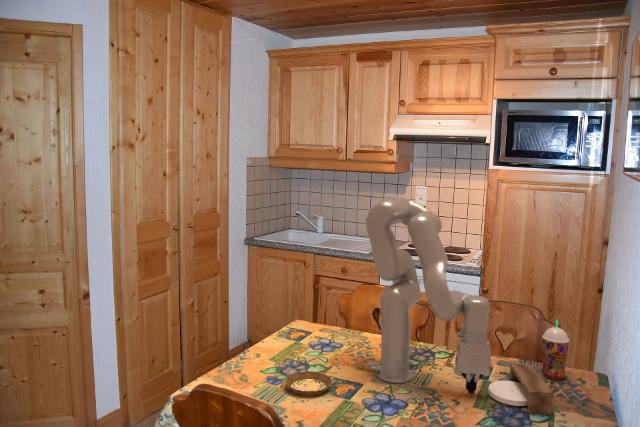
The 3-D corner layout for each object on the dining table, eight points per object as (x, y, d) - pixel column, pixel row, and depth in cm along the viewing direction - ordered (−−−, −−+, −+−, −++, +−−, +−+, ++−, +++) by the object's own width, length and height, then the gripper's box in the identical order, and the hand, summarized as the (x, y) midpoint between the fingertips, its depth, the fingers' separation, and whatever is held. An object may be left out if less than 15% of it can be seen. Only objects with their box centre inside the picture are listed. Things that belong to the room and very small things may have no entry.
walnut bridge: (528, 413, 153) (530, 391, 152) (509, 383, 173) (510, 363, 172) (551, 414, 153) (553, 392, 152) (529, 384, 172) (530, 364, 172)
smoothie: (555, 383, 173) (559, 325, 171) (534, 374, 180) (538, 317, 178) (571, 379, 177) (576, 321, 174) (551, 369, 184) (554, 314, 182)
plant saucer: (309, 374, 178) (309, 367, 178) (341, 389, 168) (341, 381, 167) (276, 388, 168) (276, 380, 168) (307, 404, 157) (307, 396, 157)
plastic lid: (485, 386, 172) (486, 378, 171) (530, 390, 169) (531, 382, 169) (491, 406, 158) (491, 398, 158) (540, 411, 155) (540, 403, 155)
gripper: (452, 339, 159) (448, 396, 161) (502, 341, 158) (498, 399, 160) (447, 330, 166) (444, 385, 168) (495, 333, 165) (492, 388, 167)
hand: (470, 392), depth 164 cm, fingers closed
